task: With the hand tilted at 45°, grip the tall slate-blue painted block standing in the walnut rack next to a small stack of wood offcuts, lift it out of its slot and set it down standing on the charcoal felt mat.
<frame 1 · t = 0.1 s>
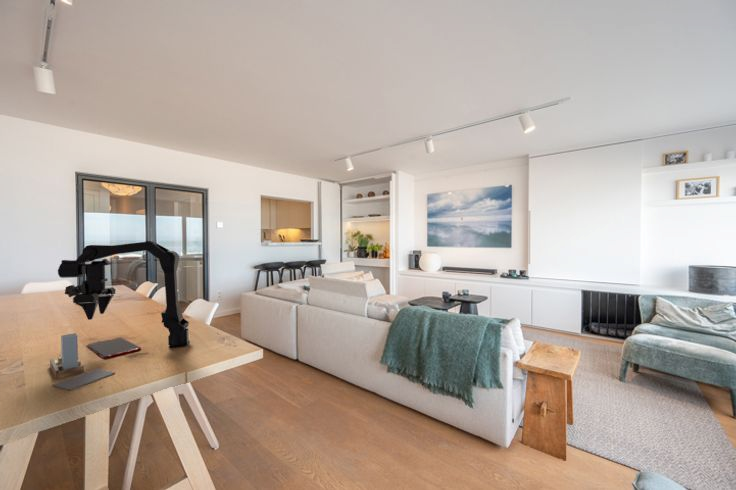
hand: (96, 316, 121), 15 cm above the table, tool pointing down, fingers open, 9 cm apart
block: (69, 353, 105), in the rack
mat: (84, 379, 99), on the table
offcut stack: (66, 365, 110), on the table
rack: (70, 371, 105), on the table
smartphone: (113, 349, 127), on the table
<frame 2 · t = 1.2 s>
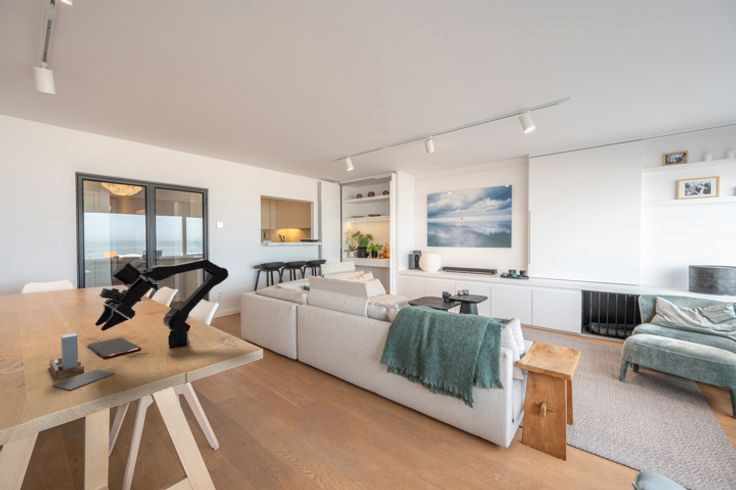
hand: (99, 327, 110), 13 cm above the table, tool tilted 45°, fingers open, 9 cm apart
nothing on the table moved.
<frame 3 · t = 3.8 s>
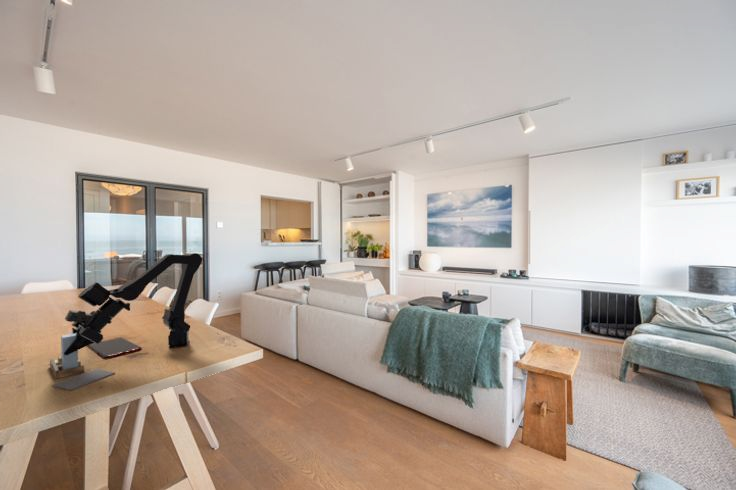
hand: (64, 353, 104), 7 cm above the table, tool tilted 45°, fingers closed on block, 4 cm apart
block: (69, 353, 105), in the rack, touching gripper
everything else where it was.
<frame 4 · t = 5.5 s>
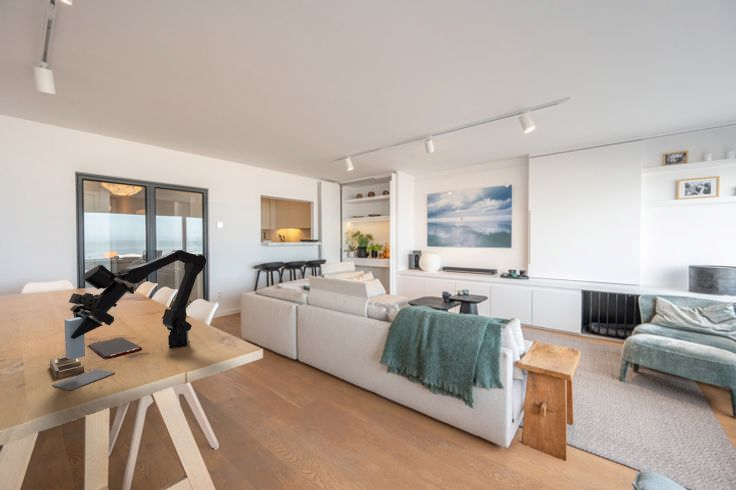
hand: (69, 337, 100), 13 cm above the table, tool tilted 45°, fingers closed on block, 4 cm apart
block: (74, 338, 101), point 13 cm above the table, touching gripper
everything else where it was.
when the fingers open (8 cm above the table, at t = 7.2 s): block stays where it is, resting on mat.
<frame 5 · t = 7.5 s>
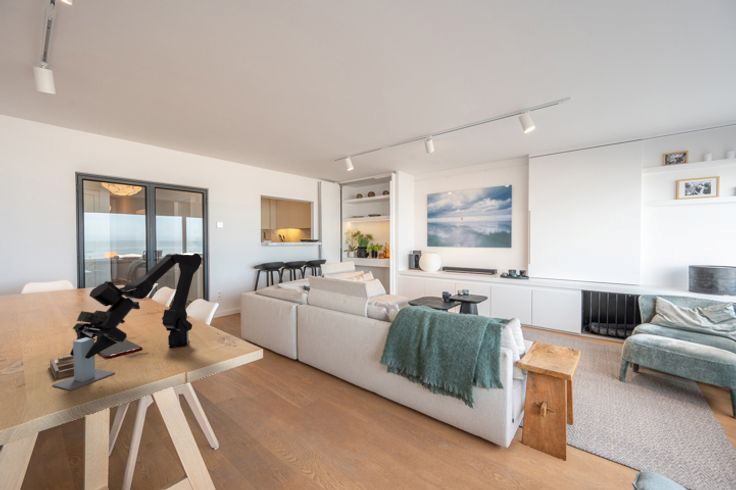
hand: (78, 356, 98), 8 cm above the table, tool tilted 45°, fingers open, 7 cm apart
block: (84, 359, 99), on the mat
everything else where it was.
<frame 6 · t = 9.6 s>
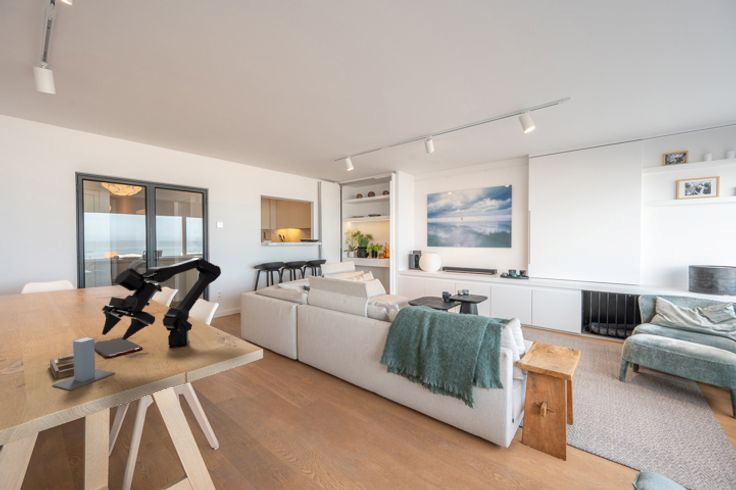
hand: (113, 337, 108), 11 cm above the table, tool tilted 40°, fingers open, 9 cm apart
nothing on the table moved.
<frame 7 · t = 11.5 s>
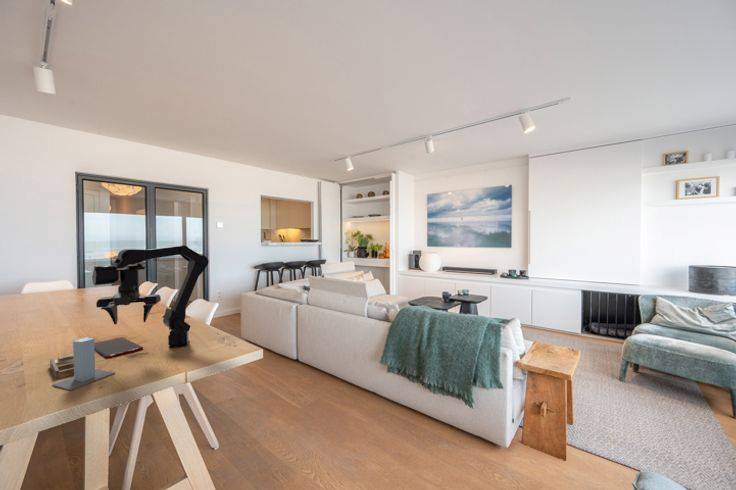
hand: (130, 323, 117), 13 cm above the table, tool pointing down, fingers open, 9 cm apart
nothing on the table moved.
at the end: block inside the target area on the mat (0.0 cm from its centre), point 6.6 cm above the mat's base; block moved 11.6 cm from its start; block resting on mat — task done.
